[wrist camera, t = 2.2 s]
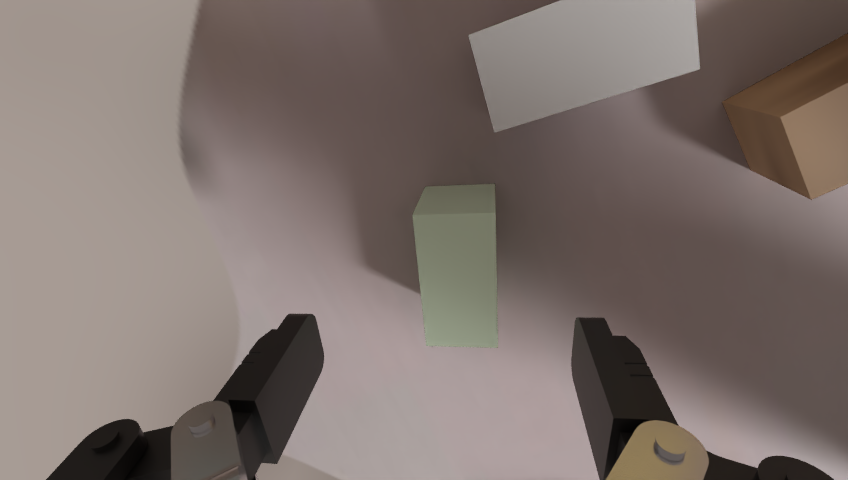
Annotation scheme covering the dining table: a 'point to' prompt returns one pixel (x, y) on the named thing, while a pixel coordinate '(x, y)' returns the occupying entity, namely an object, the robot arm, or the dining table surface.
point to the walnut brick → (798, 122)
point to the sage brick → (457, 264)
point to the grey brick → (581, 54)
